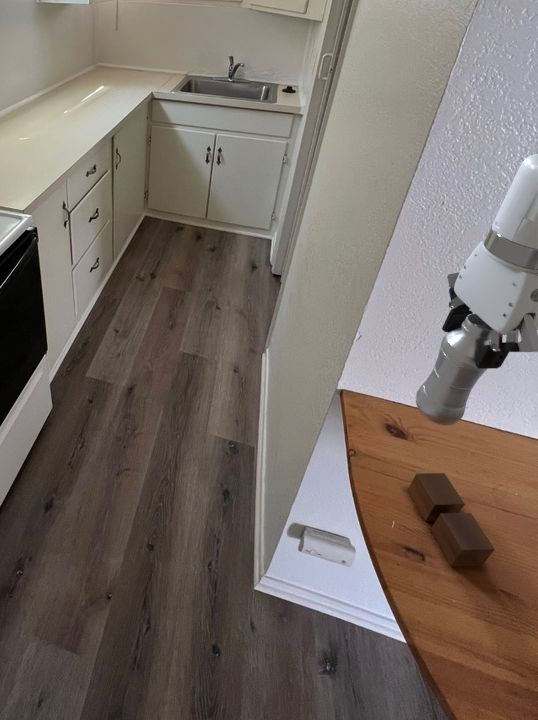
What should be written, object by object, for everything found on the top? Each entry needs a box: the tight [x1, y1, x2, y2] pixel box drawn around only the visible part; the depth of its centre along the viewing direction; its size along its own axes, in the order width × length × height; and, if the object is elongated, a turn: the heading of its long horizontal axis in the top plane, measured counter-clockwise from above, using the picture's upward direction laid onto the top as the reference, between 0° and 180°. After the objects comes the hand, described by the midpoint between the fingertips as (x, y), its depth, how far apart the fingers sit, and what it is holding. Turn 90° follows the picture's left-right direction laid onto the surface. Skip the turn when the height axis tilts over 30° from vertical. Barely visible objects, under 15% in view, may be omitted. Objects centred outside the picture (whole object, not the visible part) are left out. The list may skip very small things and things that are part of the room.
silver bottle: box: [415, 313, 492, 426], centre depth 66 cm, size 6×7×20 cm
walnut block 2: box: [429, 512, 496, 567], centre depth 64 cm, size 5×5×5 cm
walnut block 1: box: [406, 472, 466, 522], centre depth 70 cm, size 5×5×5 cm
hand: (468, 347), depth 64 cm, fingers closed on silver bottle, 6 cm apart
